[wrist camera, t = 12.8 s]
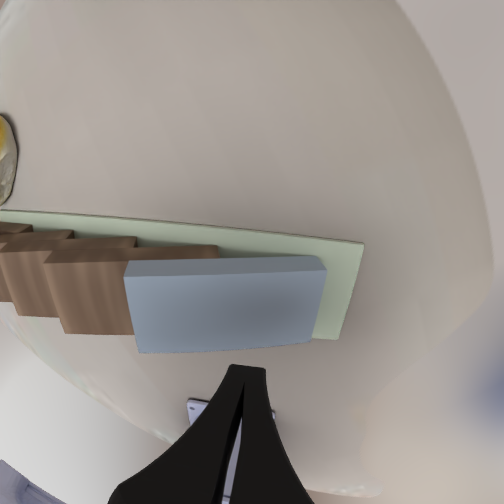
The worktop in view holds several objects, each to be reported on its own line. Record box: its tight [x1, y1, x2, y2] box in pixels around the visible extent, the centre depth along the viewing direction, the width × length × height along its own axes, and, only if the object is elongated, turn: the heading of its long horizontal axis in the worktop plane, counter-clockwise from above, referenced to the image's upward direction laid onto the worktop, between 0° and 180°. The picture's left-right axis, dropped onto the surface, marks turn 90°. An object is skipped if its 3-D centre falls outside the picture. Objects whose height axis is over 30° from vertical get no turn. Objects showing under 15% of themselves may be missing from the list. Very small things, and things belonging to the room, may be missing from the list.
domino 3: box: [0, 236, 138, 317], centre depth 16 cm, size 2×5×10 cm
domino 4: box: [43, 245, 220, 335], centre depth 16 cm, size 2×5×10 cm
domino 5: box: [123, 256, 328, 353], centre depth 15 cm, size 2×5×10 cm
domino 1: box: [0, 221, 34, 235], centre depth 18 cm, size 2×5×10 cm
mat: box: [0, 210, 364, 340], centre depth 18 cm, size 7×28×1 cm, turn 86°
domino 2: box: [0, 230, 75, 302], centre depth 16 cm, size 2×5×10 cm
